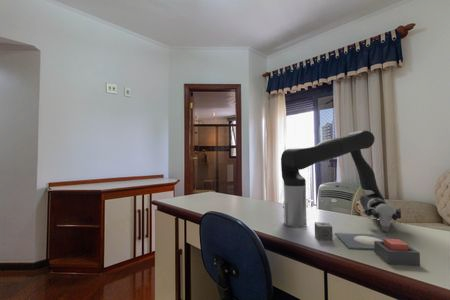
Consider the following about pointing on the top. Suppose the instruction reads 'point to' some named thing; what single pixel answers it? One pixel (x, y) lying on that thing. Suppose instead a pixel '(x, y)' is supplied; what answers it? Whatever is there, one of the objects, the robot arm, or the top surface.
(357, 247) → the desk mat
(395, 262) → the button box
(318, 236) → the dice cube
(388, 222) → the lightbulb
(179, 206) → the top surface
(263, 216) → the top surface
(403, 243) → the button
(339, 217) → the top surface
